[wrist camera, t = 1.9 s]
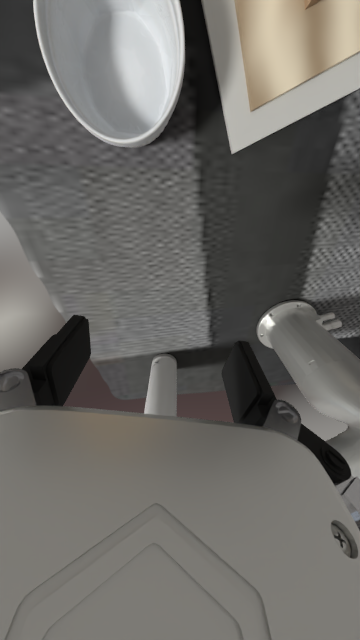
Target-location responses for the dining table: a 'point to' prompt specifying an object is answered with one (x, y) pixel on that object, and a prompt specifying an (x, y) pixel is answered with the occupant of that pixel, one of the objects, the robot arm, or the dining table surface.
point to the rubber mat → (279, 111)
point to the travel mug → (162, 386)
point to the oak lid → (293, 42)
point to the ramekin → (115, 63)
